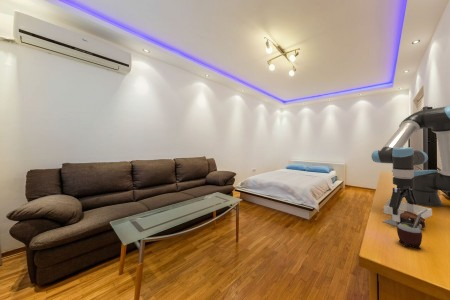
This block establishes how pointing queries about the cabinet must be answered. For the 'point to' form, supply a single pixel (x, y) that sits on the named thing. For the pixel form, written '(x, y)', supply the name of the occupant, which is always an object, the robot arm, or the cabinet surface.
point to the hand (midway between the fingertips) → (403, 218)
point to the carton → (403, 206)
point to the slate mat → (396, 222)
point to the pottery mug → (405, 219)
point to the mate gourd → (410, 233)
